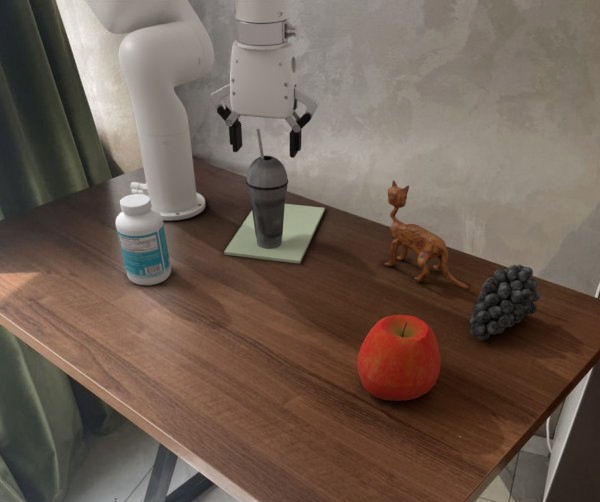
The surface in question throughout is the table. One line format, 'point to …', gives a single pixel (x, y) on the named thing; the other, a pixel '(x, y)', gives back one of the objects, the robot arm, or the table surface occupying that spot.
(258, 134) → the beverage cup
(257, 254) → the mat
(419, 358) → the apple
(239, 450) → the table surface
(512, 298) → the fruit
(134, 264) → the pill bottle
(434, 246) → the cat figurine
